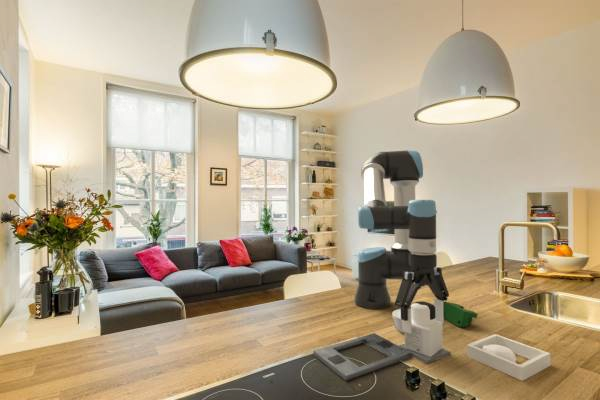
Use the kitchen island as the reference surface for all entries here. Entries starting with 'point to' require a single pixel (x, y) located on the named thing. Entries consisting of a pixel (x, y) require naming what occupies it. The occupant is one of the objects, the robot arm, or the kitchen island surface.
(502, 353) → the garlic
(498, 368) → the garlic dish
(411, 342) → the container
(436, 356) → the plate
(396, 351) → the flat gray rectangular frame
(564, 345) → the kitchen island surface
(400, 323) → the ramekin
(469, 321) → the green angular block
